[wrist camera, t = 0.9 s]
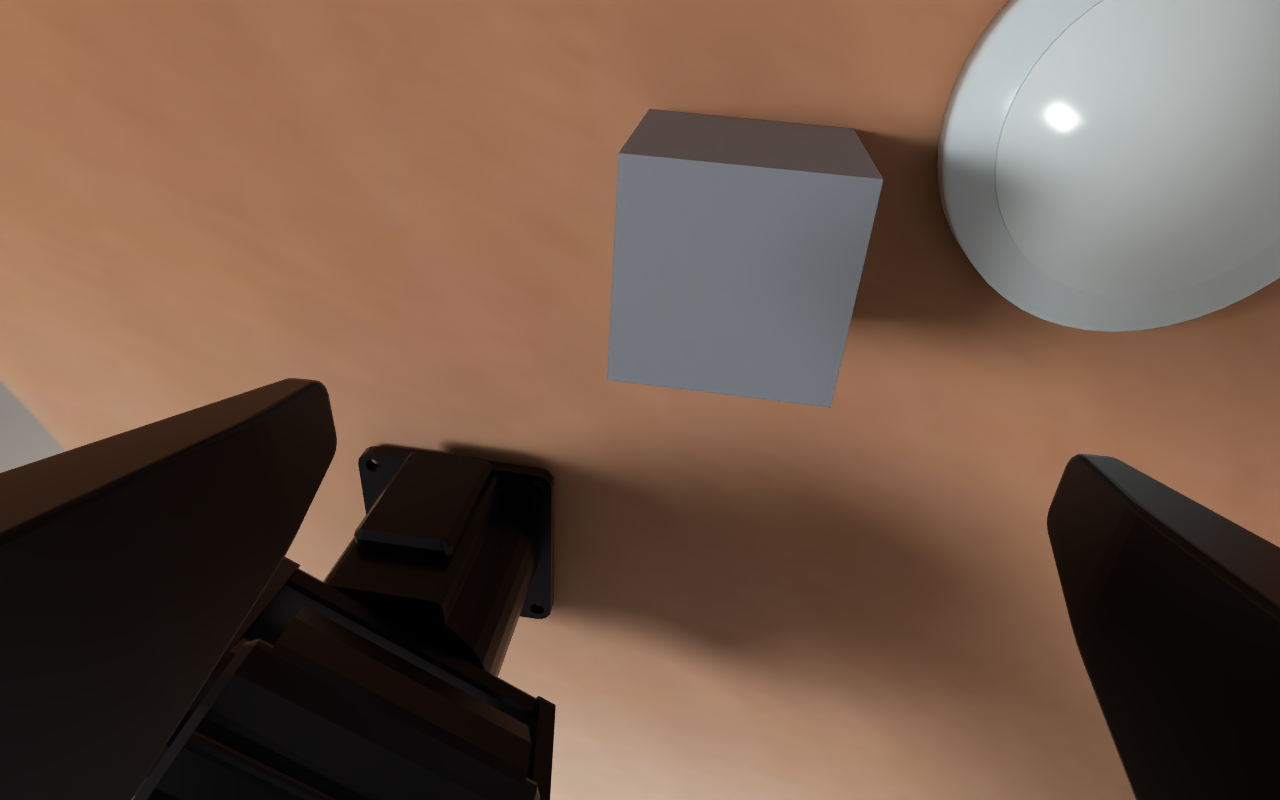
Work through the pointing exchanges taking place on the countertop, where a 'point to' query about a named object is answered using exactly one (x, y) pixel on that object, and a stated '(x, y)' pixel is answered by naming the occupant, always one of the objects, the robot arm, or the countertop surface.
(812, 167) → the block
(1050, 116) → the dish
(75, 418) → the countertop surface
